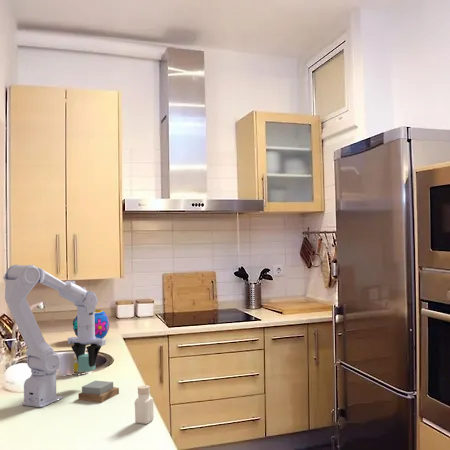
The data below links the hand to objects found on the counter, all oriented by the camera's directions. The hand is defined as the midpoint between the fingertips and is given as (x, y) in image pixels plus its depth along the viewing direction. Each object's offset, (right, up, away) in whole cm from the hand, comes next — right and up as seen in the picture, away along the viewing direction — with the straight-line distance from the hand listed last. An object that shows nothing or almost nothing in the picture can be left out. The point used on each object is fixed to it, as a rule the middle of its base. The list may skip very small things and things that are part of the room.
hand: (86, 365), depth 167 cm
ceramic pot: (-20, -11, +79) cm, 82 cm away
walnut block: (+7, -8, -10) cm, 15 cm away
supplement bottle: (-7, -9, +18) cm, 21 cm away
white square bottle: (+25, -6, -33) cm, 42 cm away
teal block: (0, -2, 0) cm, 2 cm away
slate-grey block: (+6, -5, -10) cm, 13 cm away
